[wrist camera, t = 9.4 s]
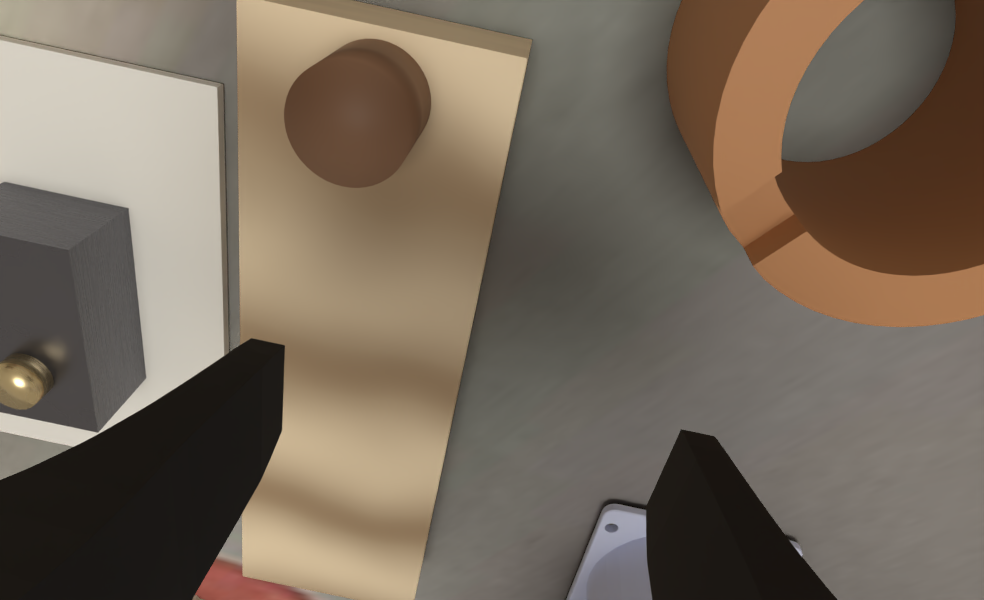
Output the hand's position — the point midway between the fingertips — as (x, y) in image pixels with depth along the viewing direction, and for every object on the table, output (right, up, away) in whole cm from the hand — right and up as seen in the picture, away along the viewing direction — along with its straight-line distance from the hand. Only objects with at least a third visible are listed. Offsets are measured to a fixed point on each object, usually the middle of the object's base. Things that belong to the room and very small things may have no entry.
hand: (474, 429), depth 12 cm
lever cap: (-14, +3, +11) cm, 18 cm away
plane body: (-4, +1, +12) cm, 12 cm away
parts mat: (-14, +3, +11) cm, 18 cm away
